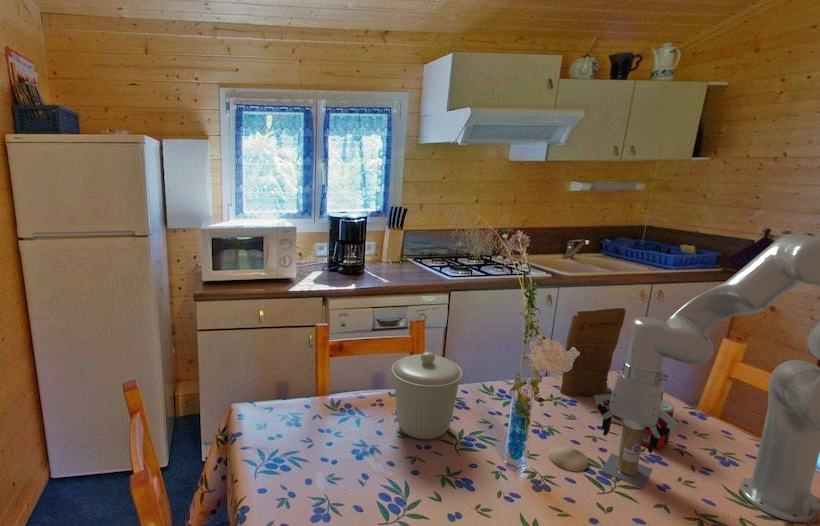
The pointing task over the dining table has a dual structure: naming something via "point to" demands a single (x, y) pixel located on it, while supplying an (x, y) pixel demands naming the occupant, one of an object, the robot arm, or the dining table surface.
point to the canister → (425, 394)
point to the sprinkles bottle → (630, 447)
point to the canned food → (663, 439)
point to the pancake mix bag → (592, 350)
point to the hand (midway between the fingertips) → (627, 441)
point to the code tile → (636, 479)
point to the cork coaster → (568, 458)
